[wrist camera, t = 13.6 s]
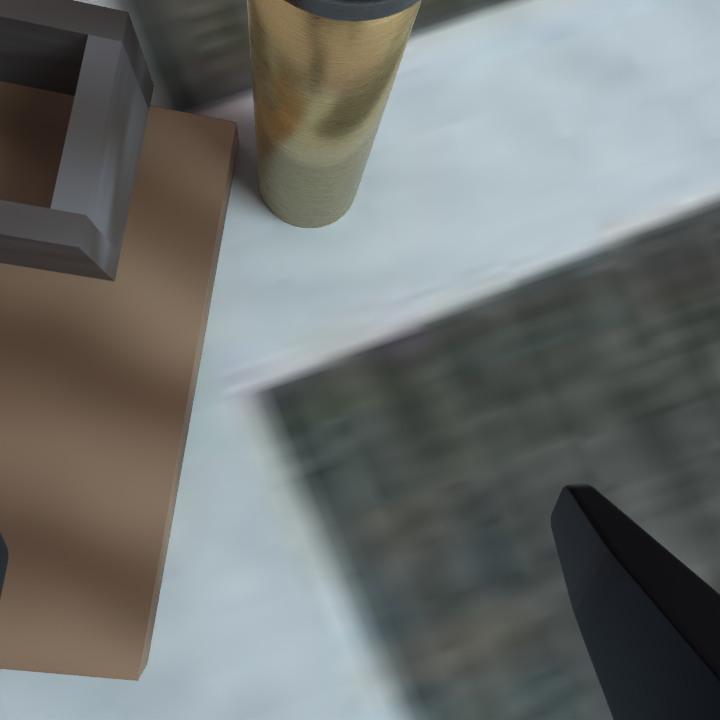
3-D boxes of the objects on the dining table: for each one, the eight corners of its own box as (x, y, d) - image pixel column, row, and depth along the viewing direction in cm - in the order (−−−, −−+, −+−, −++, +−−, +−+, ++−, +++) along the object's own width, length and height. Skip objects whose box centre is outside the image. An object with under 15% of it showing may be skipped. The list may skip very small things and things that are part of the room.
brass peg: (356, 244, 25) (459, 1, 11) (242, 224, 24) (198, -60, 10) (371, 138, 25) (487, -219, 11) (260, 116, 25) (243, -286, 11)
